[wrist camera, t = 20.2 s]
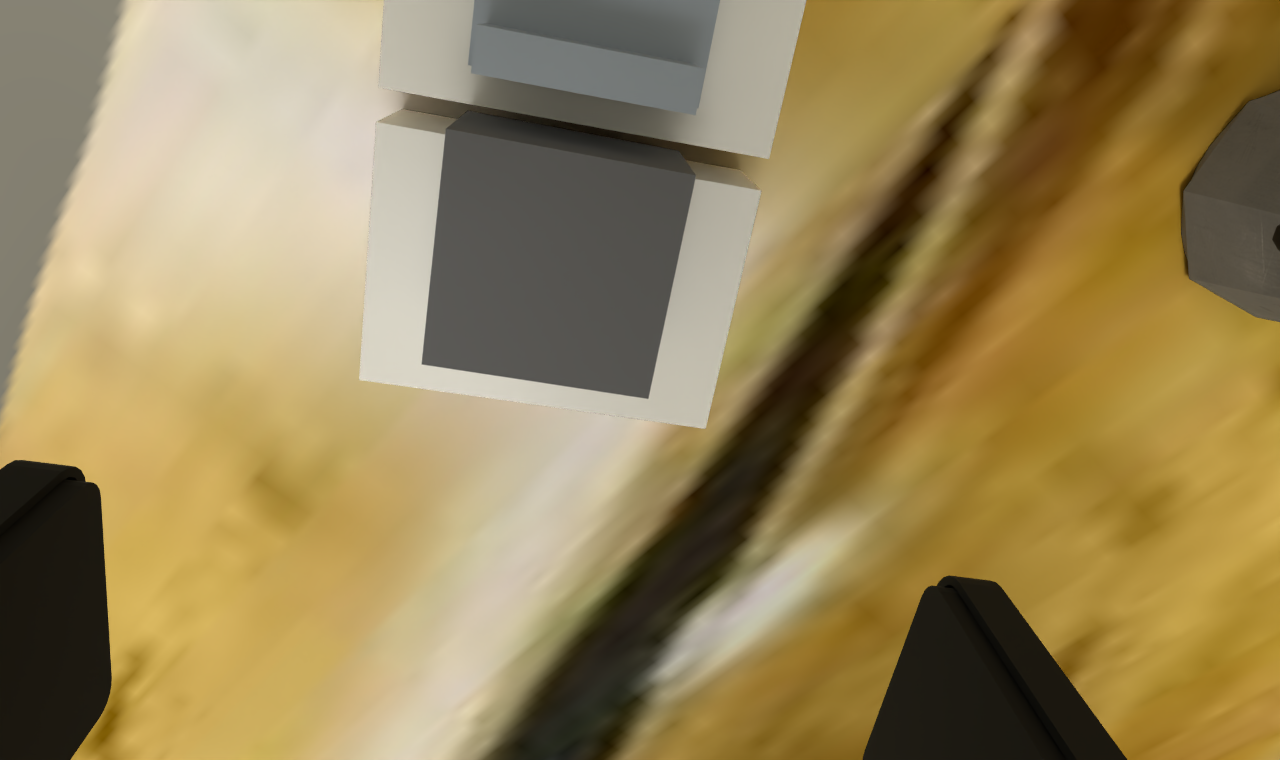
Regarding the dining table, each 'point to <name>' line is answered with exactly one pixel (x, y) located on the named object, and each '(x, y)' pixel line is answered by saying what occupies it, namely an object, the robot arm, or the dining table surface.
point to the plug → (554, 254)
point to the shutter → (599, 47)
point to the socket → (726, 120)
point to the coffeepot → (1238, 212)
